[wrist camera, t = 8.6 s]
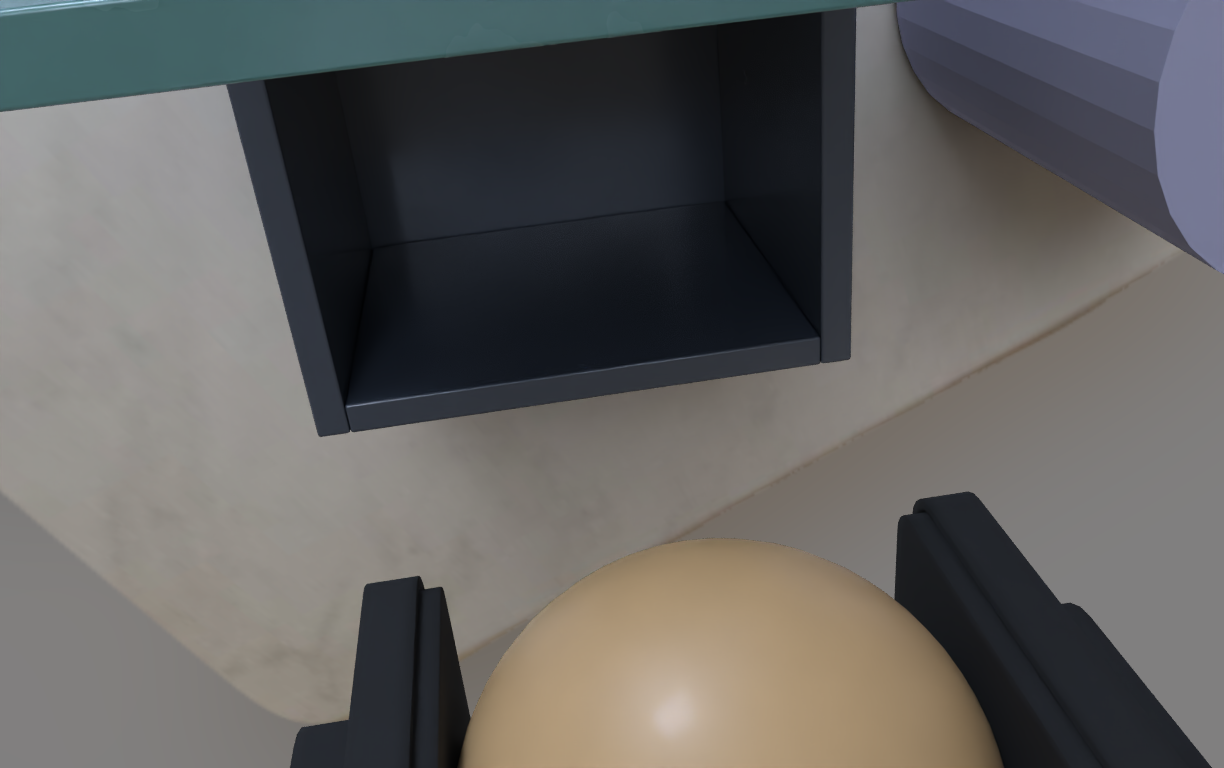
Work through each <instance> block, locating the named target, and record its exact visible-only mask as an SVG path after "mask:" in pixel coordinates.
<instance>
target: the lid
mask: <svg viewBox="0 0 1224 768" xmlns="http://www.w3.org/2000/svg"><path fill="white" fill-rule="evenodd" d="M907 1H916V0H0V112H5V111H13V110H21V109H30V108H38V107H46V106H54V105H62V104H71V103H79V102H87V101H95V100H103V99H112V98H120V97H128V96H136V95H144V94H153V93H161V92H169V91H177V90H185V89H194V88H202V87H210V86H218V85H226V84H235V83H243V82H251V81H259V80H267V79H276V78H284V77H292V76H300V75H309V74H317V73H325V72H333V71H341V70H350V69H358V68H366V67H374V66H382V65H391V64H399V63H407V62H415V61H423V60H432V59H440V58H448V57H456V56H464V55H473V54H481V53H489V52H497V51H505V50H514V49H522V48H530V47H538V46H546V45H555V44H563V43H571V42H579V41H587V40H596V39H604V38H612V37H620V36H628V35H637V34H645V33H653V32H661V31H669V30H678V29H686V28H694V27H702V26H710V25H719V24H727V23H735V22H743V21H751V20H760V19H768V18H776V17H784V16H793V15H801V14H809V13H817V12H825V11H834V10H842V9H850V8H858V7H866V6H875V5H883V4H891V3H899V2H907Z"/></svg>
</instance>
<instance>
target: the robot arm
mask: <svg viewBox="0 0 1224 768" xmlns="http://www.w3.org/2000/svg"><path fill="white" fill-rule="evenodd" d="M895 601H897V602H898V603H899V604H900V605H902V606H903V607H904V608H905V609H907V610H908V611H909V612H910V613H911V614H912V615H913V616H914V617H915V618H916V619H917V620H918V621H919V622H920V623H921V624H922V625H923V626H924V627H925V628H926V629H927V630H928V631H929V632H930V633H931V634H932V636H933V637H934V638H935V639H936V640H937V641H938V642H939V643H940V644H941V646H942V647H943V648H944V649H945V650H946V652H947V653H948V654H949V656H950V657H951V659H952V660H953V661H954V663H955V664H956V666H957V667H958V668H959V670H960V671H961V673H962V674H963V676H964V678H965V679H966V681H967V682H968V684H969V686H970V687H971V689H972V691H973V692H974V694H975V696H976V698H977V700H978V702H979V704H980V706H981V708H982V710H983V712H984V714H985V716H986V718H987V720H988V722H989V724H990V727H991V729H992V732H993V735H994V738H995V740H996V743H997V746H998V749H999V752H1000V755H1001V758H1002V761H1003V765H1004V768H1212V767H1211V766H1210V765H1209V764H1208V762H1207V761H1206V760H1205V759H1204V757H1203V756H1202V755H1201V754H1200V752H1199V751H1198V750H1197V749H1196V747H1195V746H1194V745H1193V744H1192V742H1190V740H1189V739H1188V737H1187V736H1186V735H1185V734H1184V733H1183V731H1182V730H1181V729H1180V727H1179V726H1178V725H1177V724H1176V722H1175V721H1174V720H1173V719H1172V717H1171V716H1170V715H1169V714H1168V713H1167V711H1166V710H1165V709H1164V708H1163V706H1162V705H1161V704H1160V703H1159V702H1158V700H1157V699H1156V698H1155V696H1154V695H1153V694H1152V693H1151V691H1150V690H1149V689H1148V688H1147V686H1146V685H1145V684H1144V683H1143V682H1142V680H1141V679H1140V678H1139V677H1138V675H1137V674H1136V673H1135V671H1134V670H1133V669H1132V668H1131V667H1130V665H1129V664H1128V663H1127V662H1126V660H1125V659H1124V658H1123V657H1122V655H1121V654H1120V653H1119V652H1118V651H1117V649H1116V648H1115V647H1114V645H1113V644H1112V643H1111V642H1110V640H1109V639H1108V638H1107V637H1106V635H1105V634H1104V633H1103V632H1102V631H1101V629H1100V628H1099V627H1098V626H1097V625H1096V623H1095V622H1094V621H1093V619H1092V618H1091V617H1090V616H1089V615H1088V614H1087V613H1086V612H1085V611H1084V610H1083V609H1082V608H1081V607H1079V606H1077V605H1075V604H1072V603H1065V604H1061V603H1060V602H1059V601H1058V599H1057V598H1056V597H1055V596H1054V594H1053V593H1052V592H1051V590H1050V589H1049V588H1048V587H1047V585H1046V584H1045V583H1044V582H1043V580H1042V579H1041V578H1040V576H1039V575H1038V574H1037V572H1036V571H1035V570H1034V569H1033V567H1032V566H1031V565H1030V564H1029V562H1028V561H1027V560H1026V558H1025V557H1024V556H1023V554H1022V553H1021V552H1020V551H1019V549H1018V548H1017V547H1016V545H1015V544H1014V543H1013V542H1012V540H1011V539H1010V538H1009V536H1008V535H1007V534H1006V533H1005V531H1004V530H1003V529H1002V528H1001V526H1000V525H999V524H998V523H997V521H996V520H995V519H994V517H993V516H992V515H991V513H990V512H989V511H988V510H987V508H986V507H985V506H984V504H983V503H982V502H981V501H980V500H979V498H978V497H977V496H975V494H974V493H971V492H963V493H956V494H950V495H943V496H937V497H930V498H924V499H919V500H918V501H916V503H915V505H914V507H913V514H910V515H904V516H901V517H900V520H899V522H898V533H897V554H896V577H895ZM469 722H470V714H469V709H468V705H467V699H466V695H465V690H464V685H463V680H462V675H461V670H460V666H459V661H458V656H457V651H456V646H455V641H454V637H453V632H452V627H451V622H450V617H449V613H448V608H447V603H446V598H445V594H444V590H443V588H442V587H437V588H431V589H424V585H423V582H422V579H421V577H420V576H415V577H409V578H402V579H396V580H389V581H383V582H376V583H370V584H366V586H365V588H364V593H363V601H362V610H361V618H360V627H359V636H358V644H357V653H356V662H355V670H354V679H353V688H352V696H351V705H350V714H349V720H345V721H339V722H333V723H327V724H320V725H314V726H308V727H302V728H301V729H300V731H299V732H298V734H297V737H296V741H295V744H294V749H293V754H292V760H291V766H290V768H457V766H458V762H459V758H460V753H461V749H462V746H463V742H464V738H465V734H466V730H467V727H468V724H469Z"/></svg>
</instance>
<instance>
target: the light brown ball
mask: <svg viewBox="0 0 1224 768" xmlns="http://www.w3.org/2000/svg"><path fill="white" fill-rule="evenodd" d="M457 768H1004V765H1003V761H1002V758H1001V755H1000V752H999V749H998V746H997V743H996V740H995V738H994V735H993V732H992V729H991V727H990V724H989V722H988V720H987V718H986V716H985V714H984V712H983V710H982V708H981V706H980V704H979V702H978V700H977V698H976V696H975V694H974V692H973V691H972V689H971V687H970V686H969V684H968V682H967V681H966V679H965V678H964V676H963V674H962V673H961V671H960V670H959V668H958V667H957V666H956V664H955V663H954V661H953V660H952V659H951V657H950V656H949V654H948V653H947V652H946V650H945V649H944V648H943V647H942V646H941V644H940V643H939V642H938V641H937V640H936V639H935V638H934V637H933V636H932V634H931V633H930V632H929V631H928V630H927V629H926V628H925V627H924V626H923V625H922V624H921V623H920V622H919V621H918V620H917V619H916V618H915V617H914V616H913V615H912V614H911V613H910V612H909V611H908V610H907V609H905V608H904V607H903V606H902V605H900V604H899V603H898V602H897V601H895V600H894V599H893V598H892V597H890V596H889V595H888V594H887V593H885V592H884V591H882V590H881V589H879V588H878V587H876V586H875V585H873V584H872V583H870V582H869V581H867V580H866V579H864V578H862V577H860V576H859V575H857V574H855V573H853V572H852V571H850V570H848V569H846V568H844V567H842V566H840V565H838V564H835V563H833V562H830V561H827V560H825V559H823V558H820V557H818V556H815V555H812V554H810V553H807V552H805V551H803V550H799V549H795V548H792V547H788V546H784V545H779V544H776V543H769V542H761V541H754V540H745V539H735V538H734V539H732V538H731V539H729V538H724V539H723V538H706V539H696V540H685V541H679V542H674V543H669V544H664V545H660V546H655V547H652V548H649V549H646V550H643V551H639V552H636V553H633V554H630V555H628V556H625V557H623V558H621V559H619V560H616V561H614V562H612V563H610V564H607V565H605V566H603V567H602V568H600V569H598V570H596V571H595V572H593V573H591V574H590V575H588V576H586V577H584V578H583V579H581V580H580V581H578V582H577V583H576V584H574V585H573V586H572V587H570V588H569V589H568V590H566V591H565V592H564V593H562V594H561V595H560V596H558V597H557V598H556V599H554V600H553V601H551V602H550V603H549V604H548V605H547V606H546V607H545V608H544V609H543V610H542V611H541V612H540V613H539V614H538V615H537V616H535V617H534V618H533V619H532V620H531V621H530V622H529V624H528V625H527V626H526V627H525V629H524V630H523V631H522V632H521V633H520V635H519V636H518V637H517V638H516V640H515V641H514V642H513V643H512V645H511V646H510V648H509V649H508V650H507V651H506V653H505V654H504V655H503V657H502V658H501V660H500V661H499V663H498V665H497V666H496V668H495V670H494V671H493V673H492V675H491V676H490V678H489V679H488V681H487V683H486V686H485V688H484V690H483V692H482V694H481V696H480V698H479V700H478V703H477V705H476V707H475V710H474V712H473V715H472V717H471V719H470V722H469V724H468V727H467V730H466V734H465V738H464V742H463V746H462V749H461V753H460V758H459V762H458V766H457Z"/></svg>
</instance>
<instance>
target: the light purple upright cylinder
mask: <svg viewBox="0 0 1224 768" xmlns="http://www.w3.org/2000/svg"><path fill="white" fill-rule="evenodd" d="M897 19H898V24H899V29H900V34H901V39H902V44H903V47H904V49H905V52H906V54H907V56H908V59H909V61H910V63H911V66H912V68H913V71H914V72H915V74H916V75H917V77H918V78H919V80H920V81H921V83H922V84H923V85H924V87H925V88H926V90H927V91H928V93H929V94H930V95H931V96H932V97H933V98H935V99H936V100H937V101H938V102H939V103H941V104H942V105H943V106H944V107H945V108H946V109H948V110H949V111H950V112H952V113H953V114H955V115H957V116H958V117H960V118H962V119H963V120H965V121H967V122H969V123H970V124H972V125H974V126H975V127H977V128H979V129H980V130H982V131H984V132H985V133H987V134H989V135H990V136H992V137H994V138H995V139H997V140H999V141H1000V142H1002V143H1004V144H1005V145H1007V146H1009V147H1010V148H1012V149H1014V150H1015V151H1017V152H1019V153H1021V154H1022V155H1024V156H1026V157H1027V158H1029V159H1031V160H1032V161H1034V162H1036V163H1037V164H1039V165H1041V166H1042V167H1044V168H1046V169H1047V170H1049V171H1051V172H1052V173H1054V174H1056V175H1057V176H1059V177H1061V178H1062V179H1064V180H1066V181H1067V182H1069V183H1071V184H1073V185H1074V186H1076V187H1078V188H1079V189H1081V190H1083V191H1084V192H1086V193H1088V194H1089V195H1091V196H1093V197H1094V198H1096V199H1098V200H1099V201H1101V202H1103V203H1104V204H1106V205H1108V206H1109V207H1111V208H1113V209H1114V210H1116V211H1118V212H1119V213H1121V214H1123V215H1125V216H1126V217H1128V218H1130V219H1131V220H1133V221H1135V222H1136V223H1138V224H1140V225H1141V226H1143V227H1145V228H1146V229H1148V230H1150V231H1151V232H1153V233H1155V234H1156V235H1158V236H1160V237H1161V238H1163V239H1165V240H1166V241H1168V242H1170V243H1171V244H1173V245H1175V246H1177V247H1178V248H1180V249H1182V250H1183V251H1185V252H1187V253H1188V254H1190V255H1192V256H1193V257H1195V258H1197V259H1198V260H1200V261H1202V262H1204V263H1205V264H1207V265H1208V266H1210V267H1212V268H1213V269H1215V270H1217V271H1219V272H1221V273H1223V274H1224V0H916V1H907V2H899V3H897Z"/></svg>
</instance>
